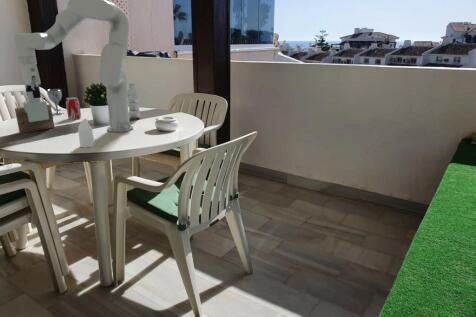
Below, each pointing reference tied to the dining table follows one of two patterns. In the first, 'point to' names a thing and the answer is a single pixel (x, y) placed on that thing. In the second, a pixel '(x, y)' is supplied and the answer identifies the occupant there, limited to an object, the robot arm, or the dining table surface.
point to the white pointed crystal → (85, 134)
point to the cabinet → (35, 108)
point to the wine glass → (55, 98)
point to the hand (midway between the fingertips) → (33, 96)
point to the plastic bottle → (133, 102)
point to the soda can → (73, 108)
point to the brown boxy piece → (32, 126)
